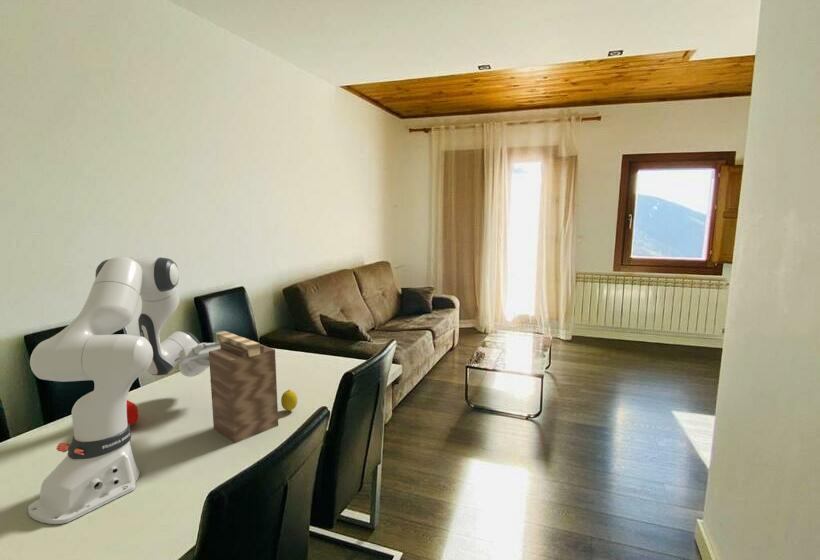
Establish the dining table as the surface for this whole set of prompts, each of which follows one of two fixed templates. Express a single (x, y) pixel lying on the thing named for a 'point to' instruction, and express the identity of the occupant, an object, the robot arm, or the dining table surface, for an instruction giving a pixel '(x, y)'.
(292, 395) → the lemon
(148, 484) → the dining table surface
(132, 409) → the tomato
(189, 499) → the dining table surface
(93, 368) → the robot arm
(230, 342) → the oak bar
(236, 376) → the walnut mount
